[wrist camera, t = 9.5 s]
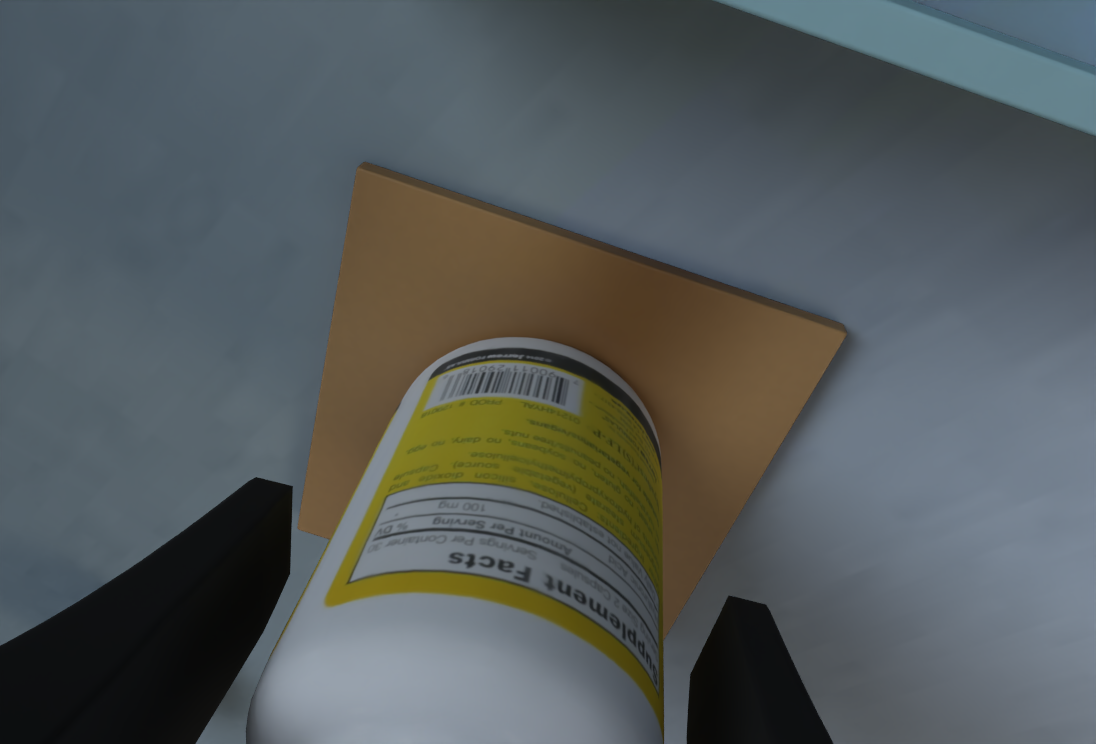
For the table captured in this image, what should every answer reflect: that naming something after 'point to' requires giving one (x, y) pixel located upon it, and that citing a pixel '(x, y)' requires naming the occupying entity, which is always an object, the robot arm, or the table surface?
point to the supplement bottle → (487, 569)
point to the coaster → (567, 318)
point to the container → (947, 52)
